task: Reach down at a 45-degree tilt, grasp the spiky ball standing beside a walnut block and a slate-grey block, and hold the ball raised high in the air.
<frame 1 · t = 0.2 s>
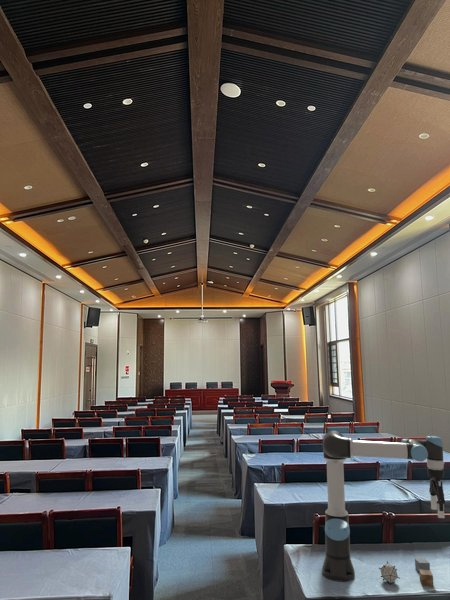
hand: (437, 513, 218), 28 cm above the table, tool pointing down, fingers open, 13 cm apart
walnut block: (426, 584, 204), on the table
slate block: (422, 571, 217), on the table
spiky ball: (389, 582, 206), on the table
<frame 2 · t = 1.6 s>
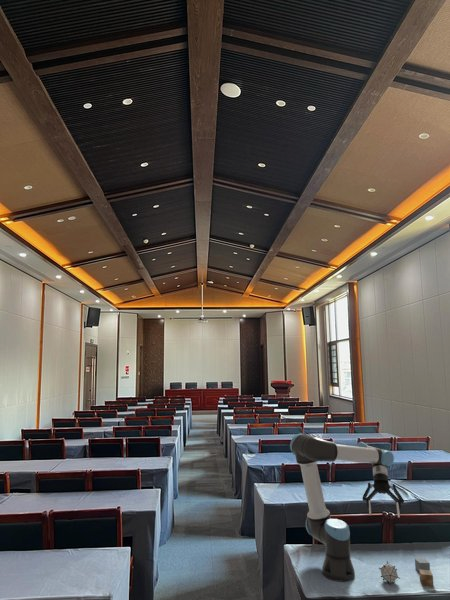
hand: (384, 515, 222), 25 cm above the table, tool tilted 45°, fingers open, 13 cm apart
nothing on the table moved.
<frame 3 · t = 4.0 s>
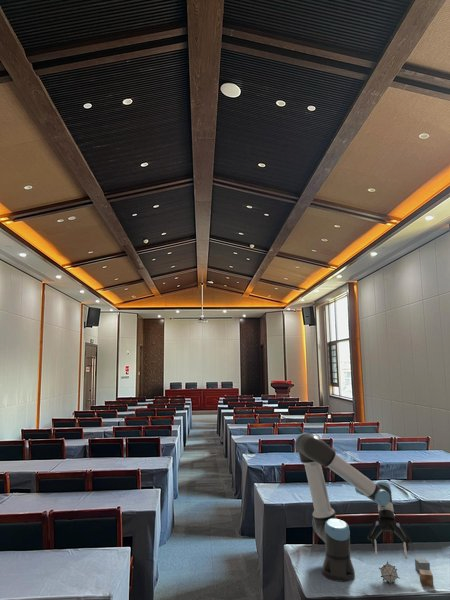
hand: (391, 556, 212), 9 cm above the table, tool tilted 45°, fingers open, 13 cm apart
nothing on the table moved.
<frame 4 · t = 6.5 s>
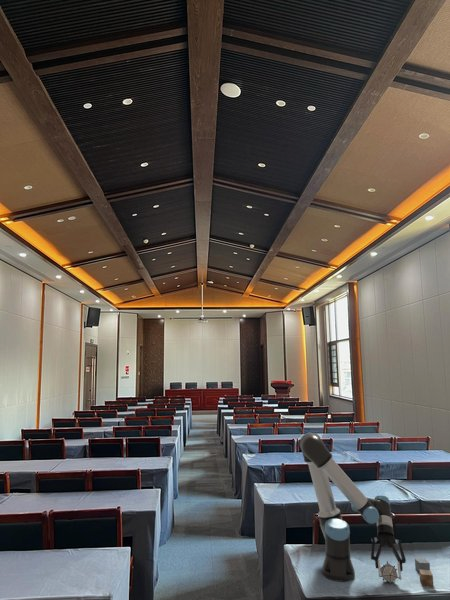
hand: (390, 576, 203), 4 cm above the table, tool tilted 45°, fingers closed on spiky ball, 8 cm apart
spiky ball: (389, 582, 206), on the table, touching gripper
everything else where it was.
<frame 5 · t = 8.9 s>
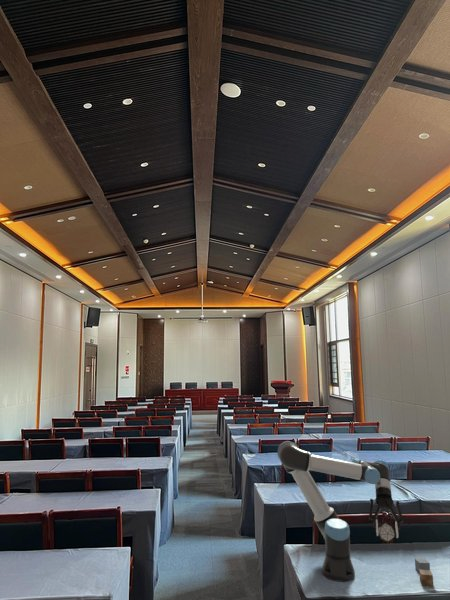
hand: (387, 535, 207), 21 cm above the table, tool tilted 45°, fingers closed on spiky ball, 8 cm apart
spiky ball: (386, 541, 210), point 17 cm above the table, touching gripper
everything else where it was.
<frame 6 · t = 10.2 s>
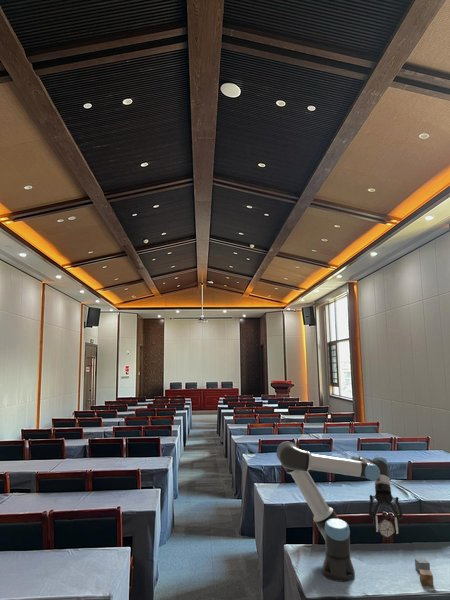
hand: (387, 531, 208), 23 cm above the table, tool tilted 45°, fingers closed on spiky ball, 8 cm apart
spiky ball: (386, 537, 210), point 19 cm above the table, touching gripper
everything else where it was.
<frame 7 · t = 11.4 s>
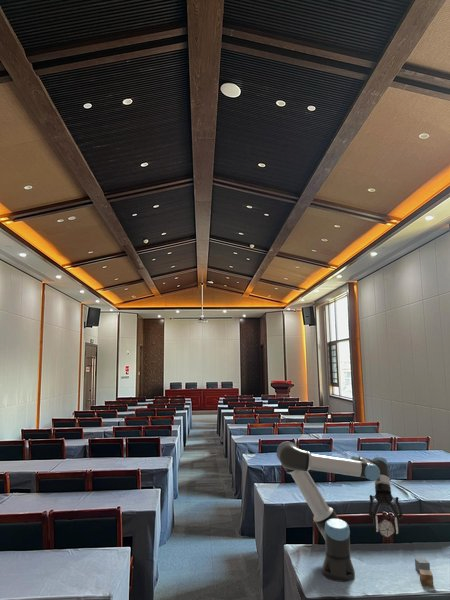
hand: (387, 531, 208), 23 cm above the table, tool tilted 45°, fingers closed on spiky ball, 8 cm apart
spiky ball: (386, 537, 210), point 19 cm above the table, touching gripper
everything else where it was.
at the end: the gripper is holding spiky ball; spiky ball point 18.7 cm above the table; walnut block moved 0.1 cm from its start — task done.
